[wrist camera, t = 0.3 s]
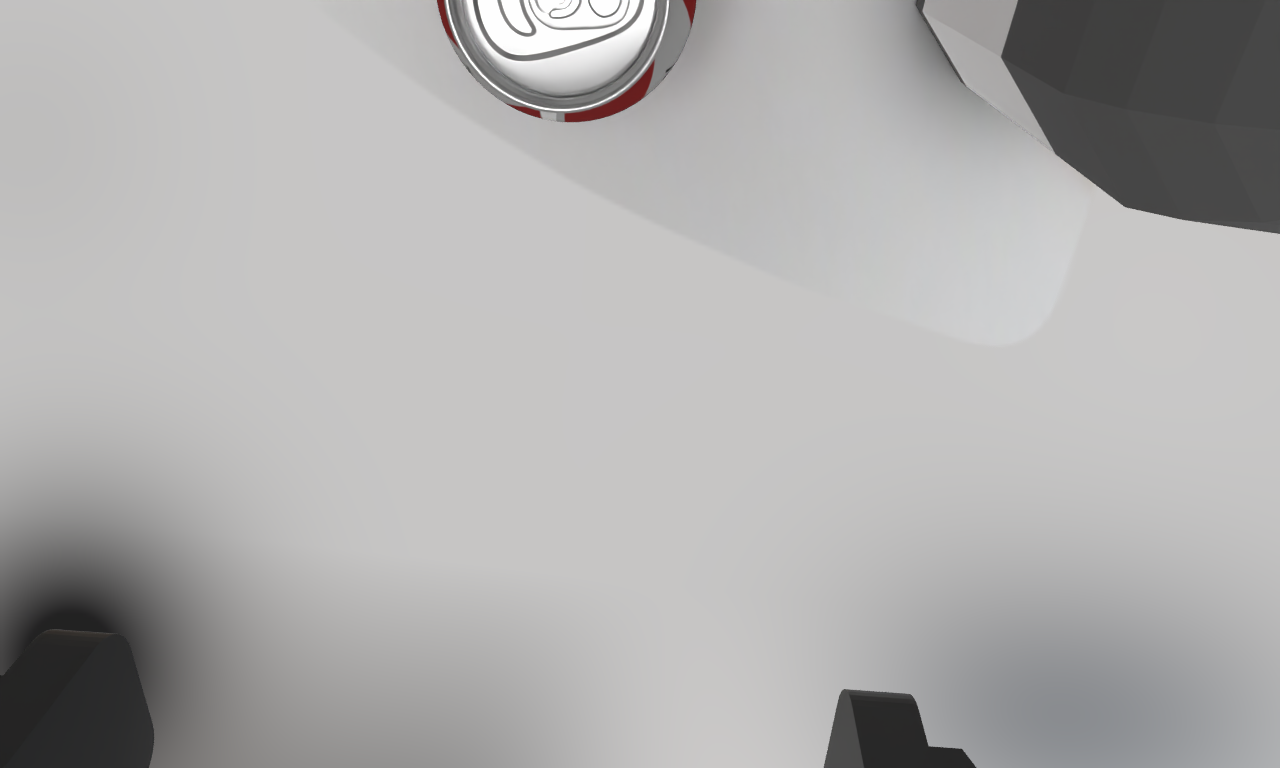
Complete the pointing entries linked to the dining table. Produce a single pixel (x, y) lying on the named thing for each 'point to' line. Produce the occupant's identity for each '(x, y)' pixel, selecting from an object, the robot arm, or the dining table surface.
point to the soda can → (568, 51)
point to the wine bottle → (1136, 94)
